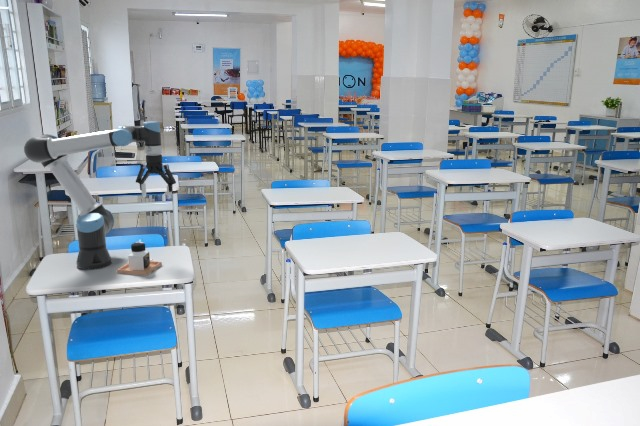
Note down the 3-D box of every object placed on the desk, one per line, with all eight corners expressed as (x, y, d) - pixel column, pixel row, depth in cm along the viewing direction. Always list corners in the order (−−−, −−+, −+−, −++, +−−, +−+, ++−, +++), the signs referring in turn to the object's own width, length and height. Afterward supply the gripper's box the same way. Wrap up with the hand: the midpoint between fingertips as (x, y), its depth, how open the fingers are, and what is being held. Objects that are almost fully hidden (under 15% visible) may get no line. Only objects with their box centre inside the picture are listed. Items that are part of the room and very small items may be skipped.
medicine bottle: (144, 271, 238) (142, 245, 235) (129, 270, 238) (127, 245, 235) (150, 265, 245) (148, 241, 242) (135, 265, 245) (133, 240, 242)
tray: (117, 272, 236) (116, 269, 236) (134, 262, 250) (134, 259, 249) (145, 275, 233) (145, 272, 233) (161, 265, 247) (161, 261, 246)
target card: (135, 262, 250) (135, 260, 250) (141, 258, 255) (141, 257, 255) (147, 263, 249) (147, 261, 249) (152, 259, 254) (152, 258, 254)
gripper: (125, 154, 250) (129, 197, 255) (173, 156, 245) (176, 200, 250) (134, 152, 257) (138, 194, 262) (181, 154, 252) (183, 197, 257)
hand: (156, 197), depth 256 cm, fingers open, 13 cm apart
